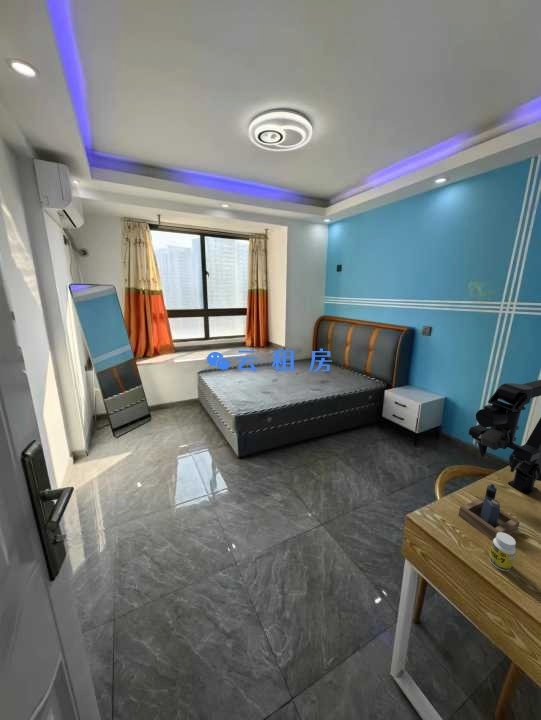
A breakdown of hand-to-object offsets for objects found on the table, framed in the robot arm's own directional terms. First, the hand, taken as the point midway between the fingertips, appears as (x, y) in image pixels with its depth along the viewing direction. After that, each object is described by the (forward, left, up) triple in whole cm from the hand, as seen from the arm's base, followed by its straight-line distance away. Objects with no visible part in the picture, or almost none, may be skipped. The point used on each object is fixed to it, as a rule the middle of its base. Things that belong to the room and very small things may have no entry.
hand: (496, 463), depth 99 cm
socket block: (+13, +7, -13) cm, 20 cm away
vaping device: (+13, +7, -13) cm, 19 cm away
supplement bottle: (+24, +17, -13) cm, 33 cm away
